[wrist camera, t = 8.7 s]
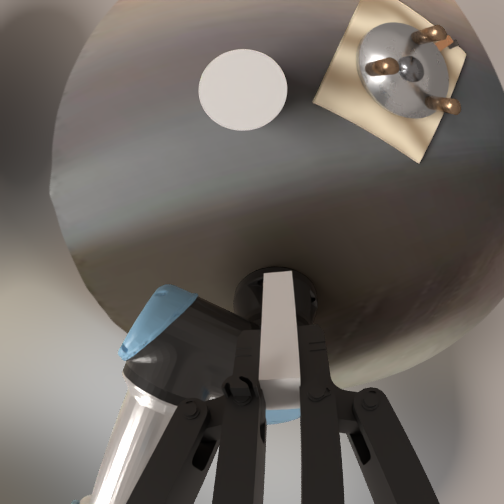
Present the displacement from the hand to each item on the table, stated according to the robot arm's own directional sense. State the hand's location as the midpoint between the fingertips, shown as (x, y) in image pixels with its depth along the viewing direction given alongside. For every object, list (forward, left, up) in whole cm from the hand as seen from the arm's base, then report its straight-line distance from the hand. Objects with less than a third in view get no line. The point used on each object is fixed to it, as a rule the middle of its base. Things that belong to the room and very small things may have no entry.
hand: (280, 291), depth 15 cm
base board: (+22, -10, -26) cm, 36 cm away
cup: (+9, +7, -27) cm, 29 cm away
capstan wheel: (+24, -11, -25) cm, 36 cm away
